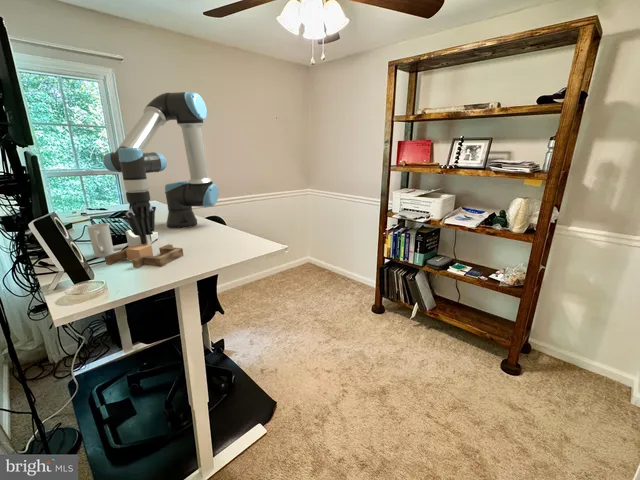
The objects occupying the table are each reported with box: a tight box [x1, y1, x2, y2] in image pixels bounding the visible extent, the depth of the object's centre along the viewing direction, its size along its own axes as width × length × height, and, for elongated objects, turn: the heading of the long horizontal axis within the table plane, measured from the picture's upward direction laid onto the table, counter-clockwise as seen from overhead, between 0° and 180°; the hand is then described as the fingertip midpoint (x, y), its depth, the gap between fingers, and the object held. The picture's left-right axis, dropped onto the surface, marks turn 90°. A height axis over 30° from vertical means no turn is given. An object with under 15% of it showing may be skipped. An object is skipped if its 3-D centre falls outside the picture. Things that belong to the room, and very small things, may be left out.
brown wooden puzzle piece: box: [103, 243, 184, 269], centre depth 115 cm, size 18×21×3 cm
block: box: [125, 244, 154, 261], centre depth 115 cm, size 6×6×4 cm
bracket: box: [125, 229, 159, 248], centre depth 132 cm, size 13×7×8 cm, turn 6°
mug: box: [86, 222, 115, 258], centre depth 116 cm, size 10×7×12 cm, turn 22°
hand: (148, 250), depth 119 cm, fingers closed
